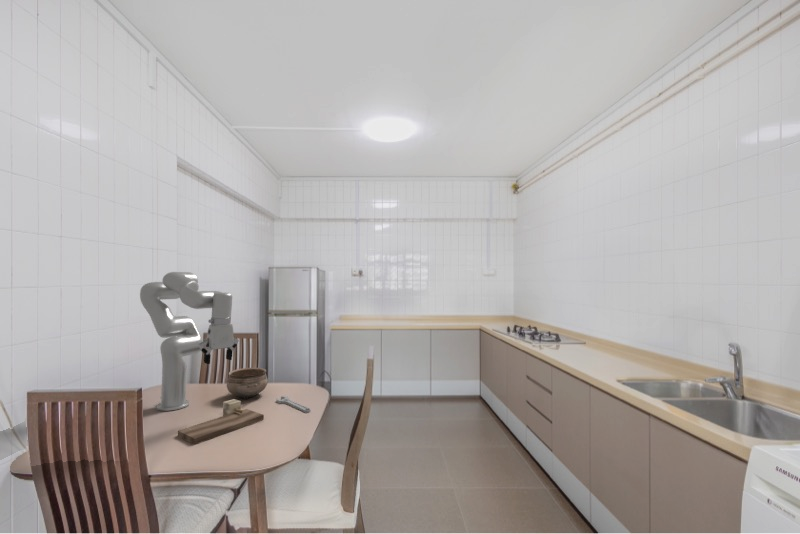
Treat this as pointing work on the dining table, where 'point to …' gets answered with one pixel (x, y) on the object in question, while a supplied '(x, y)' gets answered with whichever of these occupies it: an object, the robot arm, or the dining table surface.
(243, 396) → the cooking pot
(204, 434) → the board
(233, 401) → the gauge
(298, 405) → the adjustable wrench
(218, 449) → the dining table surface
